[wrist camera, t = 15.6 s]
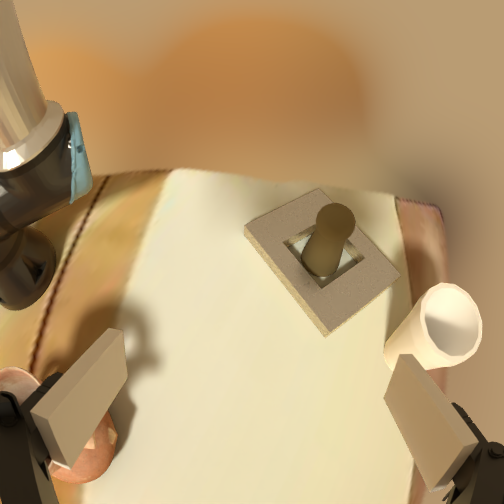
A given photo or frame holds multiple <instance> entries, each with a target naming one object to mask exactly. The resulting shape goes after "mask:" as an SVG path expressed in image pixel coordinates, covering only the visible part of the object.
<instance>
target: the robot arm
mask: <svg viewBox="0 0 504 504" xmlns="http://www.w3.org/2000/svg"><path fill="white" fill-rule="evenodd" d="M92 186H93V178H92V174H91V170H90V167H89V162H88V158H87V154H86V151H85V146H84V142H83V137H82V132H81V127H80V123H79V118H78V114H77V113H76V112H68V113H66V114H65V113H64V111H63V109H62V107H61V105H60V104H59V103H57V102H55V101H50V100H45V97H44V95H43V92H42V90H41V87H40V85H39V82H38V79H37V77H36V74H35V71H34V68H33V66H32V63H31V60H30V57H29V54H28V51H27V48H26V45H25V42H24V39H23V35H22V33H21V29H20V26H19V22H18V18H17V15H16V11H15V7H14V3H13V0H0V304H1V305H2V306H3V307H5V308H6V309H9V310H21V309H24V308H27V307H28V306H30V305H32V304H33V303H34V302H35V301H37V300H38V299H39V298H40V296H41V295H42V294H43V293H44V291H45V290H46V288H47V287H48V285H49V283H50V281H51V279H52V276H53V273H54V269H55V263H56V256H55V250H54V247H53V245H52V244H51V242H50V241H49V240H48V239H47V237H46V236H45V235H44V234H43V233H42V232H40V231H38V230H36V229H35V228H33V227H31V226H29V225H30V224H32V223H34V222H36V221H38V220H39V219H41V218H43V217H45V216H47V215H49V214H51V213H53V212H55V211H57V210H59V209H61V208H63V207H65V206H67V205H70V204H72V203H73V202H74V201H75V200H77V199H79V198H80V197H82V196H84V195H86V194H87V193H88V192H89V191H90V190H91V188H92ZM127 378H128V373H127V365H126V357H125V348H124V337H123V331H122V330H117V329H112V328H108V329H107V330H106V331H105V332H104V333H103V334H102V335H101V336H100V337H99V338H98V339H97V340H96V341H95V342H94V343H93V344H92V345H91V346H90V347H89V348H88V350H87V351H86V352H85V353H84V354H83V355H82V356H81V357H80V358H79V359H78V360H77V361H76V362H75V363H74V364H73V365H72V366H71V367H70V368H69V369H68V370H67V372H66V373H65V374H62V373H59V372H57V373H55V374H53V375H51V376H49V377H47V379H46V380H45V381H44V382H43V383H42V384H41V386H39V387H38V388H37V389H36V391H34V392H33V393H32V394H31V395H30V396H29V397H28V398H27V399H26V400H25V401H24V402H23V403H22V404H21V405H20V406H19V403H18V401H17V398H16V396H15V395H14V394H13V393H11V392H8V391H0V496H1V502H2V504H59V502H58V499H57V496H56V493H55V490H54V487H53V483H52V480H51V476H50V473H49V469H48V465H47V463H46V461H45V459H46V457H47V456H48V455H50V457H51V458H52V460H53V462H54V463H55V464H57V465H59V466H62V467H64V468H66V469H69V470H71V469H72V467H73V465H74V464H75V462H76V460H77V459H78V457H79V455H80V454H81V452H82V450H83V449H84V447H85V445H86V444H87V442H88V440H89V439H90V437H91V436H92V434H93V432H94V431H95V429H96V427H97V426H98V424H99V423H100V421H101V419H102V418H103V416H104V415H105V413H106V411H107V410H108V408H109V407H110V405H111V403H112V402H113V400H114V399H115V397H116V396H117V394H118V392H119V391H120V389H121V388H122V386H123V385H124V383H125V382H126V380H127ZM384 400H385V402H386V404H387V406H388V408H389V410H390V412H391V414H392V416H393V418H394V420H395V422H396V424H397V426H398V428H399V430H400V432H401V434H402V436H403V438H404V440H405V442H406V444H407V446H408V448H409V450H410V452H411V454H412V456H413V458H414V461H415V463H416V465H417V467H418V469H419V471H420V473H421V475H422V478H423V480H424V482H425V484H426V486H427V489H428V491H429V493H431V492H434V491H438V490H441V489H444V488H445V487H446V486H447V485H448V484H449V482H450V481H451V480H453V482H454V484H455V485H454V486H453V487H452V489H451V490H450V491H449V492H448V493H447V495H446V496H445V497H444V498H443V500H442V501H445V500H446V499H447V497H448V500H447V503H446V504H504V446H503V445H502V444H500V443H497V442H489V443H488V442H487V440H486V439H485V437H484V436H483V435H482V433H481V432H480V431H479V429H478V428H477V426H476V425H475V424H474V423H472V422H473V421H472V420H471V418H470V417H468V415H467V413H466V412H465V411H464V409H463V408H461V407H460V406H458V405H457V404H456V403H450V401H449V400H448V399H447V397H446V396H445V395H444V394H443V392H442V391H441V390H440V388H439V387H438V386H437V384H436V383H435V382H434V381H433V379H432V378H431V377H430V375H429V374H428V373H427V372H426V370H425V369H424V368H423V367H422V365H421V364H420V363H419V362H418V360H417V359H416V358H415V357H414V355H413V354H399V356H398V359H397V362H396V365H395V368H394V371H393V374H392V377H391V380H390V382H389V385H388V388H387V391H386V393H385V396H384Z"/></svg>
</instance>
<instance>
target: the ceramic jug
mask: <svg viewBox="0 0 504 504" xmlns="http://www.w3.org/2000/svg"><path fill="white" fill-rule="evenodd" d="M42 383H43V382H42V381H41V380H40V379H39V378H37V377H36V376H34V375H33V374H31V373H30V372H28V371H26V370H24V369H22V368H19V367H5V368H3V369H0V391H8V392H11V393H13V394H14V395H15V396H16V398H17V401H18V403H19V406H20V405H21V404H22V403H23V402H24V401H25V400H26V399H27V398H28V397H29V396H30V395H31V394H32V393H33V392H34V391H36V389H37V388H38V387H39V386H41V384H42ZM117 437H118V434H117V432H116V430H115V427H114V424H113V421H112V419H111V416H110V414H109V412H108V410H107V411H106V413H105V415H104V416H103V418H102V419H101V421H100V423H99V424H98V426H97V427H96V429H95V431H94V432H93V434H92V436H91V437H90V439H89V440H88V442H87V444H86V445H85V447H84V449H83V450H82V452H81V454H80V455H79V457H78V459H77V460H76V462H75V464H74V465H73V467H72V469H71V470H69V469H66V468H64V467H62V466H59V465H57V464H55V463H54V462H53V460H52V458H51V457H50V455H48V456H47V457H46V459H45V461H46V463H47V465H48V469H49V473H50V475H52V476H54V477H55V478H57V479H60V480H62V481H65V482H69V483H75V484H82V483H87V482H90V481H93V480H95V479H97V478H99V477H100V476H101V475H102V474H103V473H104V472H105V471H106V470H107V469H108V467H109V466H110V464H111V462H112V459H113V456H114V452H115V446H116V441H117Z"/></svg>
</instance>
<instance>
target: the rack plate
mask: <svg viewBox="0 0 504 504" xmlns="http://www.w3.org/2000/svg"><path fill="white" fill-rule="evenodd" d="M331 203H333V202H332V201H331V200H330V199H329V198H328V197H327V196H326V195H325V194H324V193H323V192H322V191H321V190H320V189H319V188H318V189H316V190H314V191H312V192H310V193H308V194H306V195H304V196H302V197H300V198H298V199H296V200H294V201H292V202H290V203H288V204H286V205H284V206H282V207H280V208H278V209H276V210H274V211H272V212H270V213H268V214H266V215H264V216H262V217H260V218H258V219H256V220H254V221H252V222H250V223H248V224H246V225H244V235H245V237H246V238H247V239H248V241H249V242H250V243H251V244H252V246H253V247H254V248H255V249H256V251H257V252H258V253H259V254H260V256H261V257H262V258H263V260H264V261H265V262H266V263H267V265H268V266H269V267H270V268H271V270H272V271H273V272H274V274H275V275H276V276H277V277H278V279H279V280H280V281H281V282H282V284H283V285H284V286H285V288H286V289H287V290H288V291H289V293H290V294H291V295H292V296H293V298H294V299H295V300H296V302H297V303H298V304H299V305H300V307H301V308H302V309H303V311H304V312H305V313H306V314H307V316H308V317H309V318H310V319H311V321H312V322H313V323H314V325H315V326H316V327H317V328H318V330H319V331H320V332H321V334H322V335H323V336H324V337H325V338H326V337H327V336H329V335H330V334H331V333H333V332H334V331H335V330H337V329H338V328H339V327H341V326H342V325H343V324H344V323H346V322H347V321H348V320H350V319H351V318H352V317H353V316H355V315H356V314H357V313H358V312H360V311H361V310H362V309H363V308H365V307H366V306H367V305H368V304H370V303H371V302H372V301H373V300H375V299H376V298H377V297H378V296H379V295H381V294H382V293H383V292H384V291H385V290H386V289H388V288H389V287H390V286H391V285H392V284H393V283H395V281H396V280H397V279H398V278H399V277H400V276H401V274H400V273H399V272H398V271H397V270H396V269H395V268H394V266H393V265H392V264H391V263H390V262H389V261H388V260H387V259H386V257H385V256H384V255H383V254H382V253H381V252H380V251H379V250H378V249H377V248H376V246H375V245H374V244H373V243H372V242H371V241H370V240H369V239H368V238H367V237H366V236H365V235H364V234H363V233H362V232H361V230H360V229H359V228H358V227H357V226H356V225H355V229H354V231H353V233H352V235H351V236H350V237H349V238H348V239H346V240H345V244H344V249H345V250H346V251H347V252H348V253H349V254H350V256H351V257H352V258H353V259H354V260H355V261H356V262H357V263H358V264H357V265H355V266H354V267H352V268H351V269H349V270H348V271H347V272H345V273H344V274H342V275H341V276H340V277H338V278H337V279H335V280H334V281H332V282H331V283H329V284H328V285H327V286H325V287H324V288H322V289H321V288H320V287H319V285H318V284H317V283H316V282H315V281H314V279H313V278H312V277H311V276H310V275H309V273H308V272H307V271H306V270H305V269H304V267H303V266H302V265H301V264H300V263H299V261H298V260H297V259H296V258H295V257H294V255H293V254H292V253H291V252H290V251H289V249H288V248H287V247H289V246H291V245H292V244H294V243H296V242H298V241H299V240H301V239H303V238H305V237H306V236H308V235H310V234H312V233H313V232H314V231H315V229H316V217H317V214H318V212H319V211H320V209H321V208H322V207H324V206H325V205H327V204H331Z"/></svg>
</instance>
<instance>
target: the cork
mask: <svg viewBox="0 0 504 504" xmlns="http://www.w3.org/2000/svg"><path fill="white" fill-rule="evenodd" d="M354 229H355V218H354V215H353V213H352V212H351V210H350V209H348V208H347V207H346V206H344V205H342V204H338V203H331V204H327V205H325V206H324V207H322V208H321V209H320V211H319V212H318V214H317V217H316V229H315V231H314V233H313V234H312V236H311V238H310V239H309V241H308V243H307V244H306V246H305V248H304V249H303V251H302V254H301V262H302V264H303V266H304V268H305V269H306V270H307V271H308V272H309V273H311V274H313V275H315V276H319V277H326V276H329V275H332V274H333V273H334V272H335V271H336V270H337V268H338V266H339V262H340V259H341V255H342V251H343V248H344V244H345V240H346V239H348V238H349V237H350V236H351V235H352V233H353V231H354Z"/></svg>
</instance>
